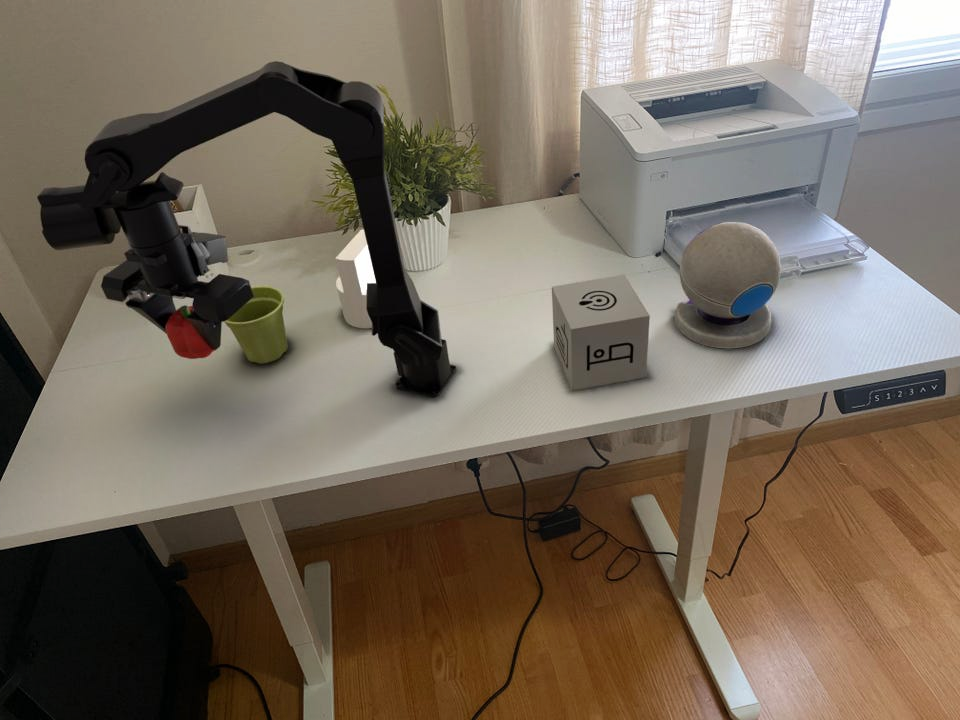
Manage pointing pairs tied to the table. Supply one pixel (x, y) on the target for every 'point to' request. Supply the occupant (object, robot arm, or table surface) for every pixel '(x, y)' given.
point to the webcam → (728, 285)
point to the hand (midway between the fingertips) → (198, 344)
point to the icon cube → (600, 331)
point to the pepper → (186, 335)
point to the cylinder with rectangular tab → (355, 281)
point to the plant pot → (261, 325)
